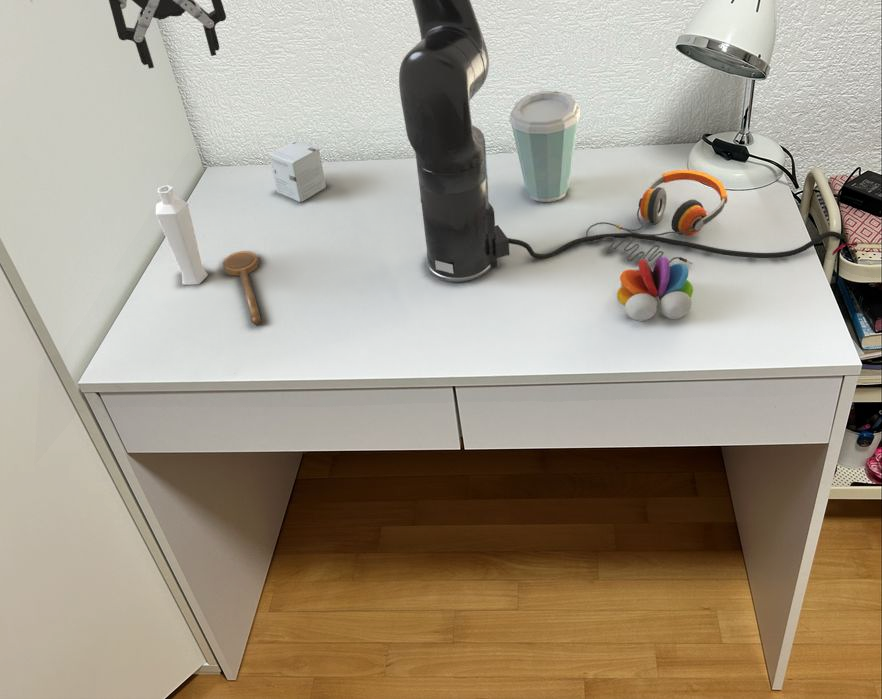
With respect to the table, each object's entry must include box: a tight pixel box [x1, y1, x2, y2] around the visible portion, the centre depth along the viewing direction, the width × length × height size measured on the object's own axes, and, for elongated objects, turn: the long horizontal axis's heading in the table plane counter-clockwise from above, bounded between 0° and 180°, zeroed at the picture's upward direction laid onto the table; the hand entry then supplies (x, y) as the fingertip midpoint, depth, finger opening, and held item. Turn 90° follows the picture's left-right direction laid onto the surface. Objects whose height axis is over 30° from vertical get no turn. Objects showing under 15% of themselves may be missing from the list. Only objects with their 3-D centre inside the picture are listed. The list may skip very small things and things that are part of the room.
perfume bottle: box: [155, 184, 209, 286], centre depth 124 cm, size 5×4×15 cm
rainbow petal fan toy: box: [616, 256, 694, 322], centre depth 112 cm, size 8×10×7 cm
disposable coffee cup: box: [508, 90, 581, 203], centre depth 134 cm, size 11×11×15 cm
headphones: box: [585, 169, 728, 267], centre depth 126 cm, size 17×5×20 cm
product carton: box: [268, 139, 327, 203], centre depth 143 cm, size 6×6×7 cm
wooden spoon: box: [222, 250, 262, 325], centre depth 125 cm, size 18×5×1 cm, turn 18°
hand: (182, 60), depth 119 cm, fingers open, 8 cm apart
